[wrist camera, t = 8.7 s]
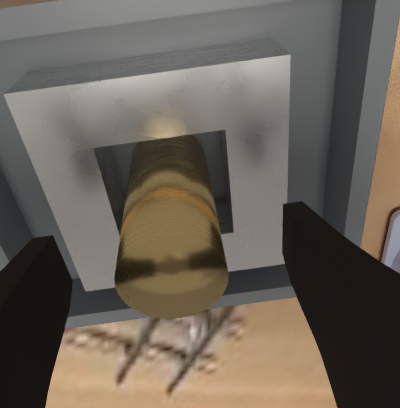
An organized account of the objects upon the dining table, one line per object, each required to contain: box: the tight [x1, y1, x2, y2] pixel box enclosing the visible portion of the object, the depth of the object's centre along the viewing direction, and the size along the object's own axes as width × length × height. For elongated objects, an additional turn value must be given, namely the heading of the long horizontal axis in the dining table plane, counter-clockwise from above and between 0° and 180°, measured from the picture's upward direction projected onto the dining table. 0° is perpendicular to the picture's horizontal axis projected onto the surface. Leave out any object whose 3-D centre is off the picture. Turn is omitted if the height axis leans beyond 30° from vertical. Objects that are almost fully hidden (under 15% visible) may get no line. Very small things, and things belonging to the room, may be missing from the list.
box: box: [0, 0, 400, 329], centre depth 16 cm, size 16×14×4 cm
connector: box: [114, 134, 229, 318], centre depth 14 cm, size 3×3×7 cm
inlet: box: [4, 38, 291, 291], centre depth 15 cm, size 9×9×2 cm
